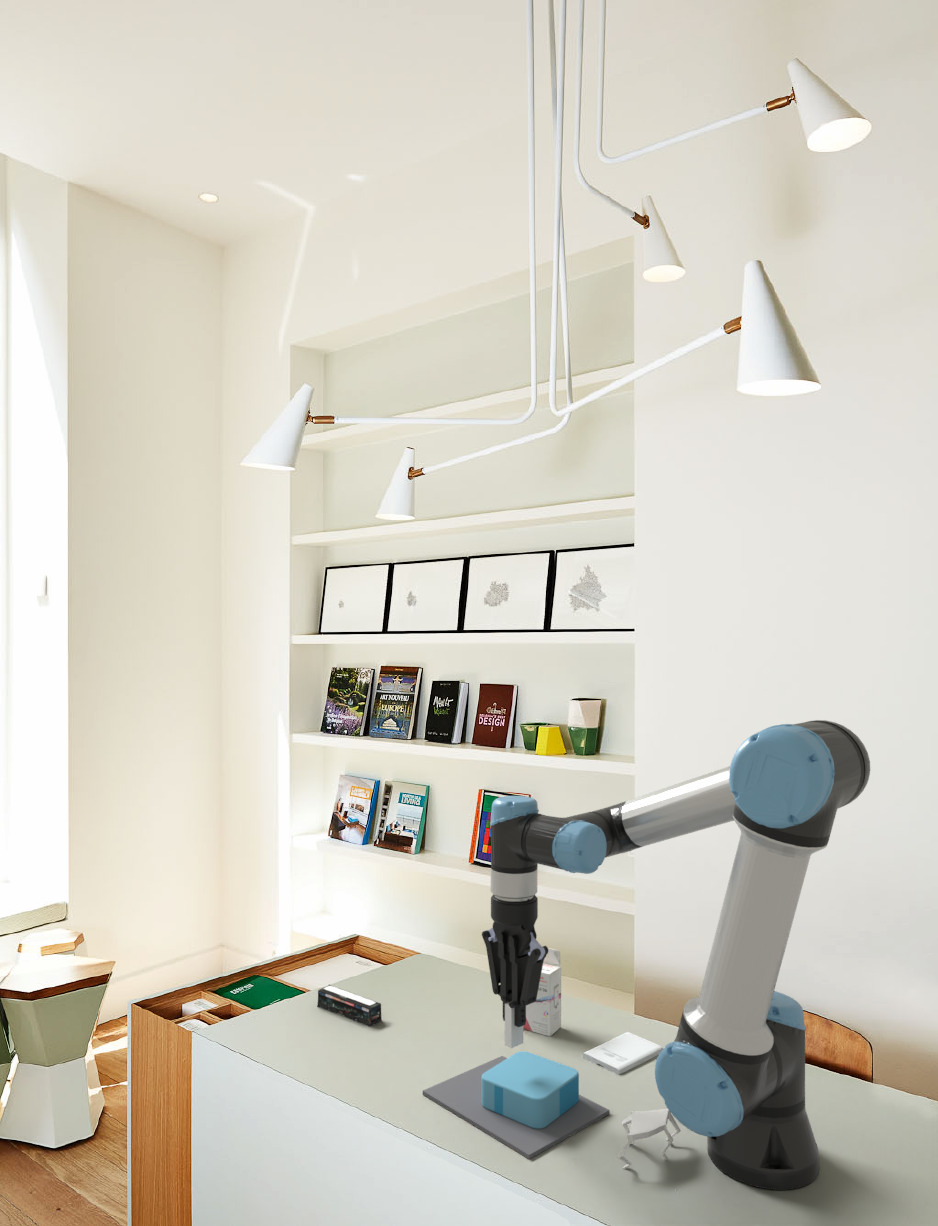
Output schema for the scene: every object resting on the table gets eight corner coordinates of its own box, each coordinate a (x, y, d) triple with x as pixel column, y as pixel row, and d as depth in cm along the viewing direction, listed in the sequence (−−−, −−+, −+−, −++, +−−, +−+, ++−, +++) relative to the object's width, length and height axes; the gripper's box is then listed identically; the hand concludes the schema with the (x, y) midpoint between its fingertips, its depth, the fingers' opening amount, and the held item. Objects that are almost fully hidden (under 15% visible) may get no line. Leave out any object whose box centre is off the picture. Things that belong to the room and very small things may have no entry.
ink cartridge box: (510, 1026, 168) (510, 948, 169) (523, 1017, 172) (523, 941, 173) (550, 1037, 164) (550, 957, 164) (562, 1027, 168) (562, 949, 168)
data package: (477, 1105, 138) (540, 1131, 131) (477, 1076, 139) (540, 1101, 131) (521, 1075, 148) (582, 1099, 140) (521, 1048, 148) (582, 1070, 140)
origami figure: (629, 1128, 133) (629, 1094, 133) (683, 1144, 129) (683, 1110, 129) (599, 1169, 123) (599, 1133, 123) (657, 1187, 119) (657, 1150, 119)
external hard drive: (663, 1055, 158) (618, 1078, 150) (626, 1039, 164) (582, 1060, 156) (663, 1046, 158) (618, 1068, 150) (626, 1030, 164) (582, 1051, 156)
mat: (609, 1113, 137) (609, 1109, 137) (529, 1158, 125) (529, 1154, 125) (502, 1059, 155) (502, 1055, 155) (422, 1094, 143) (422, 1090, 143)
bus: (336, 993, 185) (336, 973, 185) (425, 1026, 170) (425, 1003, 170) (281, 1016, 174) (281, 994, 174) (371, 1053, 158) (371, 1029, 159)
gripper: (560, 898, 139) (560, 1050, 138) (502, 882, 148) (502, 1023, 148) (527, 908, 134) (527, 1066, 133) (469, 890, 143) (469, 1037, 143)
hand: (514, 1043), depth 140 cm, fingers closed
